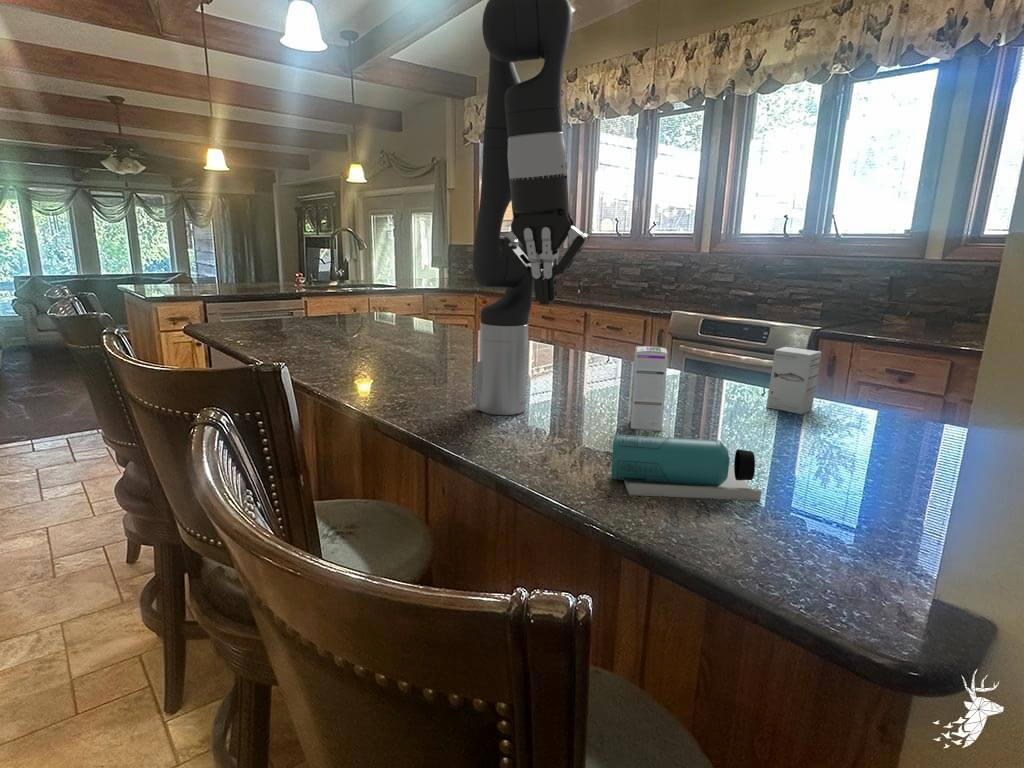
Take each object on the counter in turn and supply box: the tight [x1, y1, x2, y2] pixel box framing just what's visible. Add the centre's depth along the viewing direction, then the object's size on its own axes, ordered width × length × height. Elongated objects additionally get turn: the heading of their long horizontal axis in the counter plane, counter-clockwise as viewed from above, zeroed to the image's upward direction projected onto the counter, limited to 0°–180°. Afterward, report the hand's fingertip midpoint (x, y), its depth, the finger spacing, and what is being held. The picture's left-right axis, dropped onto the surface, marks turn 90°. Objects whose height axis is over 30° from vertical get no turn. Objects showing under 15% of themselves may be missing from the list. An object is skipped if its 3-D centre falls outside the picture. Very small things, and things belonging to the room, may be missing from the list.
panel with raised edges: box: [623, 456, 762, 502], centre depth 81 cm, size 17×13×1 cm
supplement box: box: [766, 346, 823, 416], centre depth 119 cm, size 7×7×13 cm
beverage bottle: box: [611, 433, 756, 487], centre depth 78 cm, size 6×7×20 cm
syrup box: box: [630, 345, 668, 432], centre depth 104 cm, size 6×6×14 cm
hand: (547, 303), depth 80 cm, fingers closed
